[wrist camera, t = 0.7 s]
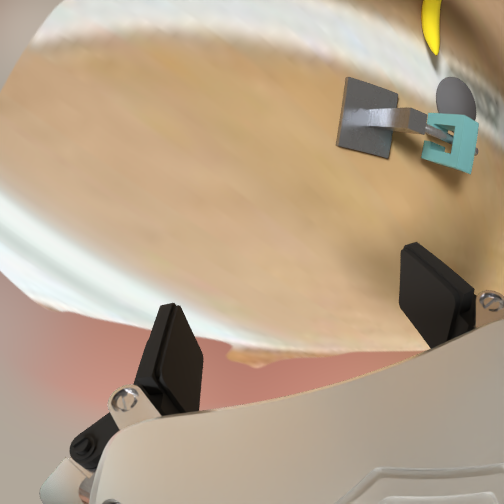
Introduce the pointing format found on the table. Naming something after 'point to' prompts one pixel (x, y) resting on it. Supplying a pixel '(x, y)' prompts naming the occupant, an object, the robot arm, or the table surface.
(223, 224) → the table surface
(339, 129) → the stand
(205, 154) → the table surface
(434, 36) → the banana
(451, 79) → the coaster
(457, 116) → the link
